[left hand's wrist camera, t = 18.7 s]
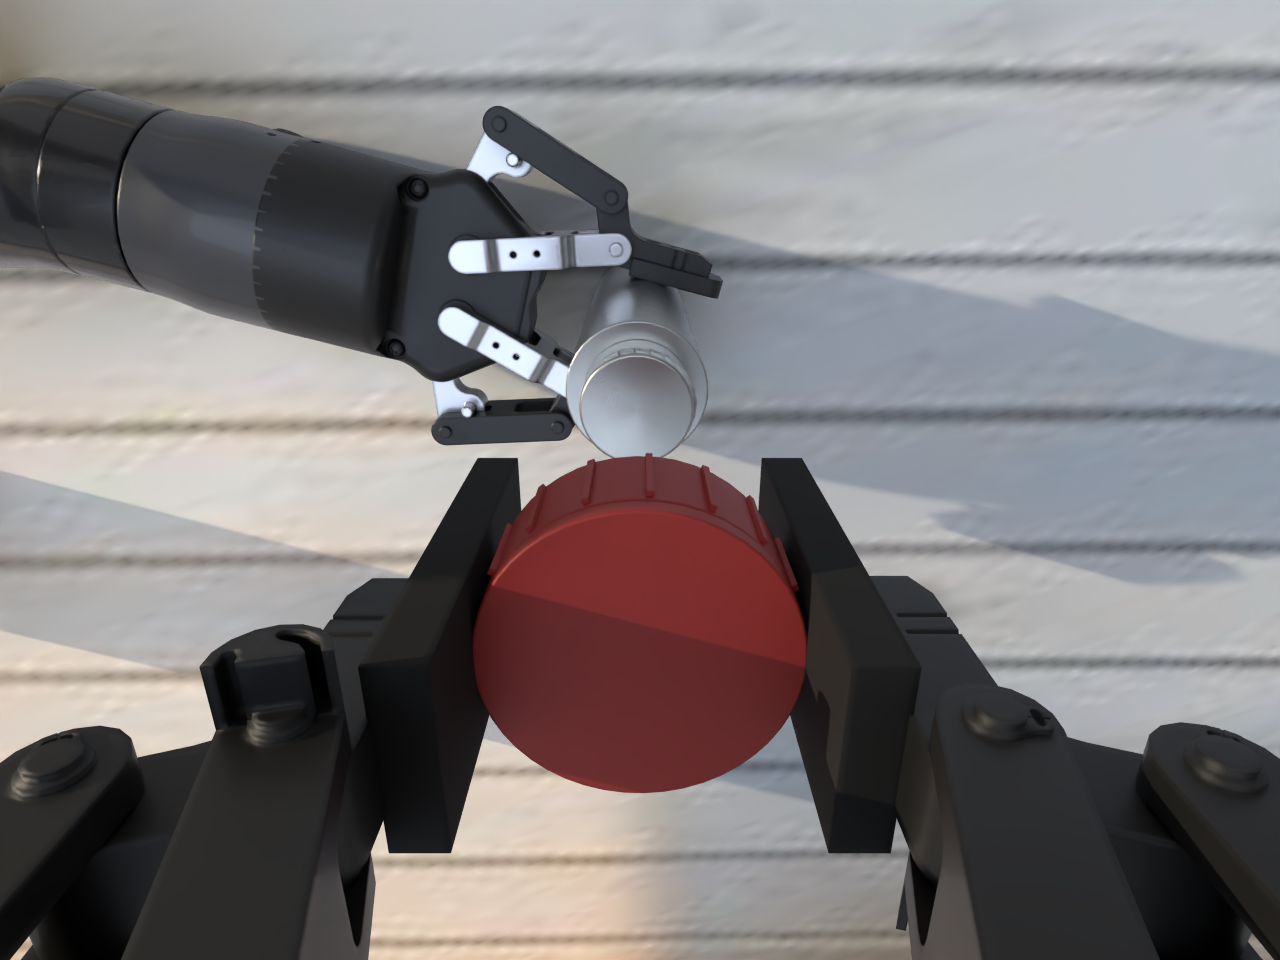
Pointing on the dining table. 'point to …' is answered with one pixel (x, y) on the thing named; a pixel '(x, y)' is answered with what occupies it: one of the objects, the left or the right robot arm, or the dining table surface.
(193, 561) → the dining table surface
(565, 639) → the lid
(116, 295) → the dining table surface
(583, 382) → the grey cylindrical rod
